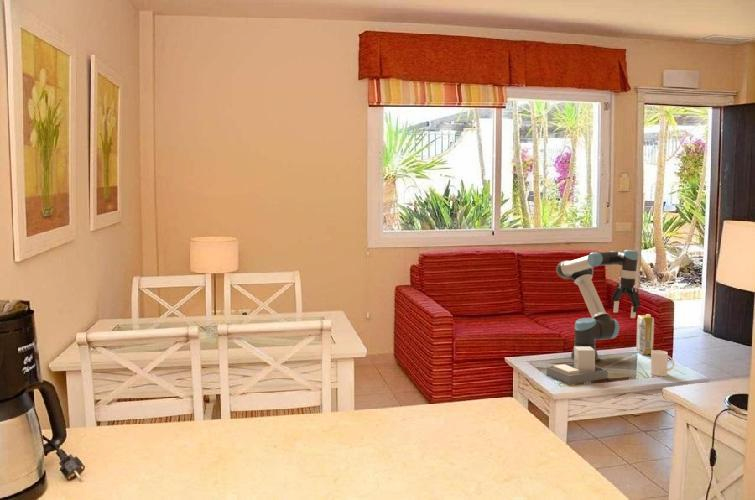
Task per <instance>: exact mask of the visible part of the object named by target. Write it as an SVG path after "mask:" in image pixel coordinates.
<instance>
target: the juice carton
mask: <svg viewBox="0 0 755 500" xmlns="http://www.w3.org/2000/svg"><path fill="white" fill-rule="evenodd" d="M636 321H637V322H636V343H635V344H636V346H635V347H636V352H637V353H638V354H640V355H643V356H644V355H645V356H646V355H648V354H651V351H654V335H655V334H654V332H655V319H654V317H652V315H651V314H649V313H646V314H644V315H642V314H641V315H640V314H638V315H637V320H636ZM648 356H649V355H648Z"/></svg>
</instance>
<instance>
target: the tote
mask: <svg viewBox="0 0 755 500" xmlns="http://www.w3.org/2000/svg"><path fill="white" fill-rule="evenodd" d="M564 364H565V365H567V366H570V367H573V368H574V362H571V363H564ZM553 366H554V365H549V366H546V376H548V377H551V378H553V379H556V380H557V381H559V382H563V383H565V384H568V385H573V384H580V383H586V382H593V381H598V380H599V381H600V380H605V379H608V369H605V368H603V367H601V366H597V365H595V371H594V372H588V373H581V374H574V375H568V374H565V373H563V372H560V371H558V370H555V369H553Z"/></svg>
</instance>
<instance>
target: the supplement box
mask: <svg viewBox="0 0 755 500" xmlns="http://www.w3.org/2000/svg"><path fill="white" fill-rule="evenodd" d="M573 348H574V359H573V363H574V368H575V369H578V370H579V374H581V373H588V372H594V371H595V366H596V361H595V350H594V349H593V348H592V347H590V346H573Z"/></svg>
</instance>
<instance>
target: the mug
mask: <svg viewBox="0 0 755 500" xmlns="http://www.w3.org/2000/svg"><path fill="white" fill-rule="evenodd" d="M650 356H651V358H650V359H651V360H650V372H649V373H650V374H651V375H653V376H657V377H666V376H668V371H671V370H672V369H673V368H674V366H675V361H674V359H673V358H672V357H671V356H669V355H668V351H664V350H660V349H658V350H657V349H656V350H655V349H653V351H651V355H650ZM668 359H670V360H671V361H672V366H671V367H668Z"/></svg>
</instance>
